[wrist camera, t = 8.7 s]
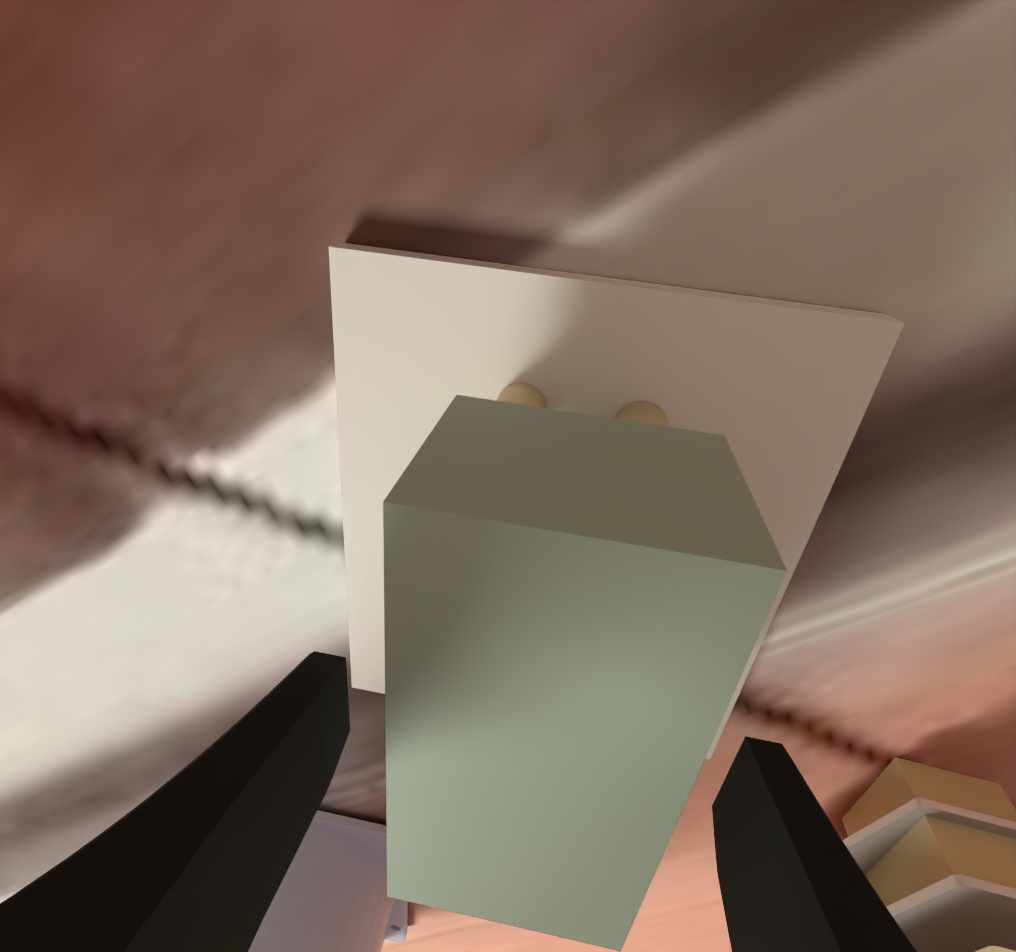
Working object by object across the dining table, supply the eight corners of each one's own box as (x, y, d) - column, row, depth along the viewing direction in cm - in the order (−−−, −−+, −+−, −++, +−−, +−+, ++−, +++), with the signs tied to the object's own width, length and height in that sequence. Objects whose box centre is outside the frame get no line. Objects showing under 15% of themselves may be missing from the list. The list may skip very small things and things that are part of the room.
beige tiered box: (820, 683, 17) (904, 879, 12) (1116, 758, 17) (1320, 990, 12) (705, 852, 22) (733, 1039, 17) (932, 912, 22) (1024, 1121, 17)
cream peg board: (706, 737, 19) (724, 840, 16) (361, 668, 20) (318, 753, 17) (887, 313, 12) (978, 358, 9) (343, 242, 13) (267, 261, 10)
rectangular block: (617, 771, 15) (620, 951, 11) (436, 733, 15) (387, 896, 12) (724, 435, 10) (787, 570, 7) (456, 394, 11) (382, 502, 7)
